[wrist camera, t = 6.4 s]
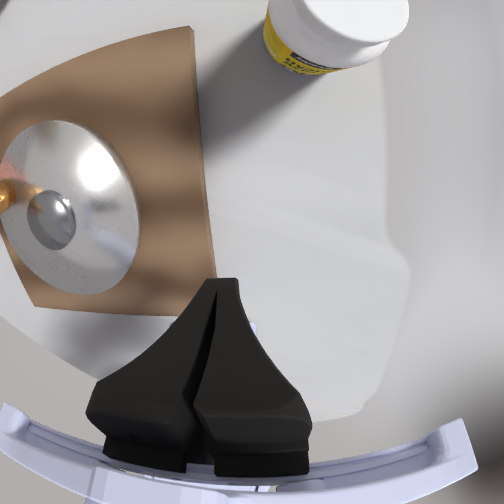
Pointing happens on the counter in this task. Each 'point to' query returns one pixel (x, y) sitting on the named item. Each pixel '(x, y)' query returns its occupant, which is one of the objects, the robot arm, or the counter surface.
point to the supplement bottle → (330, 32)
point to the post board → (132, 164)
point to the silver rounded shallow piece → (70, 206)
